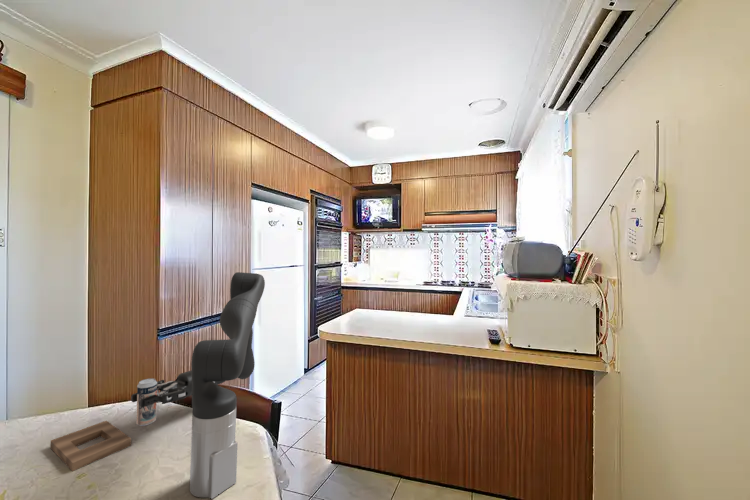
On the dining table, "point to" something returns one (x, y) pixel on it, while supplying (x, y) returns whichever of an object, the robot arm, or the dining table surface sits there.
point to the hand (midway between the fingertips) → (136, 401)
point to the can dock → (79, 458)
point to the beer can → (148, 412)
